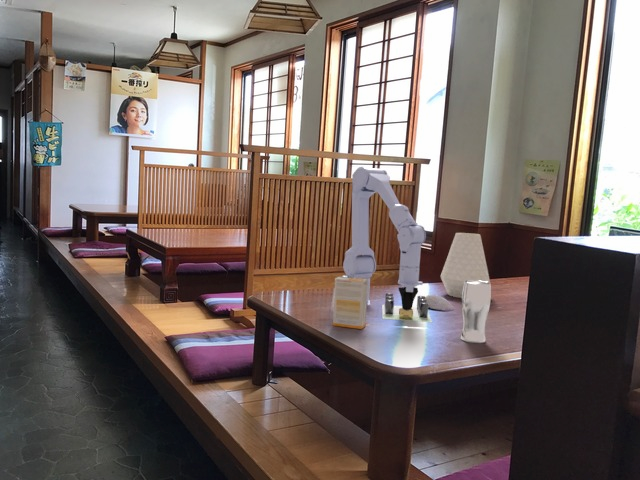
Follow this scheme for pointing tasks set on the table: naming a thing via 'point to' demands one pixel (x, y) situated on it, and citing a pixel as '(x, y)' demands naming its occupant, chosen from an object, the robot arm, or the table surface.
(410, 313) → the brass knob
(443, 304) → the seashell
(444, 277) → the vase
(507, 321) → the table surface
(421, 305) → the spacers
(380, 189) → the robot arm
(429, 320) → the field mat
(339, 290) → the supplement box
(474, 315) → the beer glass
